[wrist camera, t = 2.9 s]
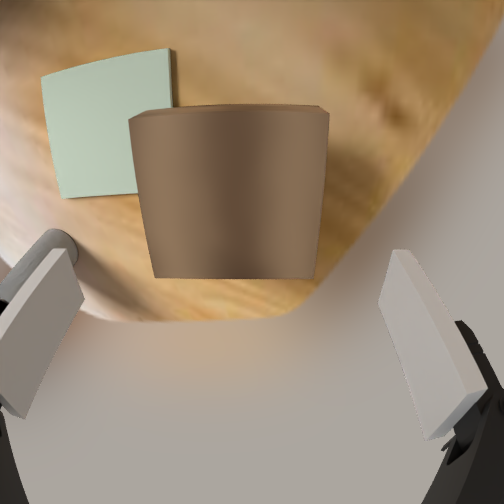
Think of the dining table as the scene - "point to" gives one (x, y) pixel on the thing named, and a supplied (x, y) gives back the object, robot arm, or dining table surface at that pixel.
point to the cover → (231, 189)
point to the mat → (102, 119)
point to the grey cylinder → (34, 263)
